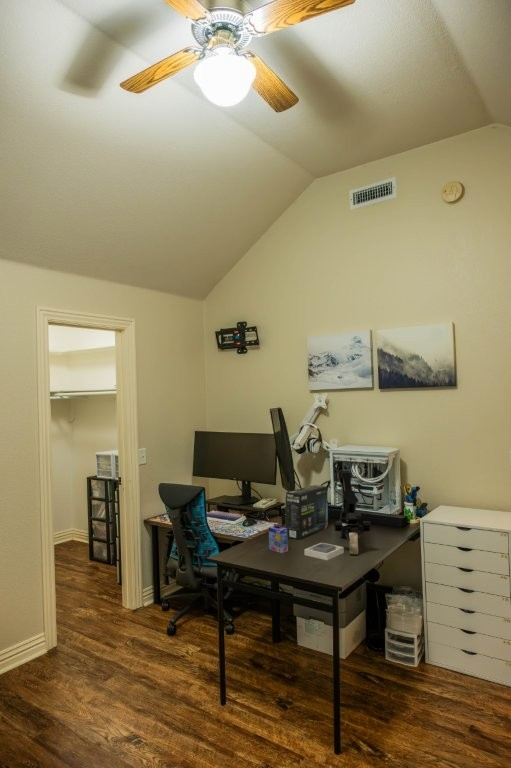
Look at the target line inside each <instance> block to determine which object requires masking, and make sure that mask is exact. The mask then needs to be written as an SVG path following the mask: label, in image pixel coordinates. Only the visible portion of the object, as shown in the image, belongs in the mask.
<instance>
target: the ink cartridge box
mask: <svg viewBox="0 0 511 768" xmlns="http://www.w3.org/2000/svg"><path fill="white" fill-rule="evenodd" d="M288 539H289V537H288V531H287V528H286V527H283V526H282V527H281V526H280V525H279V524H278V523H273V525H272V526H269V527H268V550H270V551H273V552H276V553H280V554H284V553H287V552H289V540H288Z"/></svg>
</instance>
